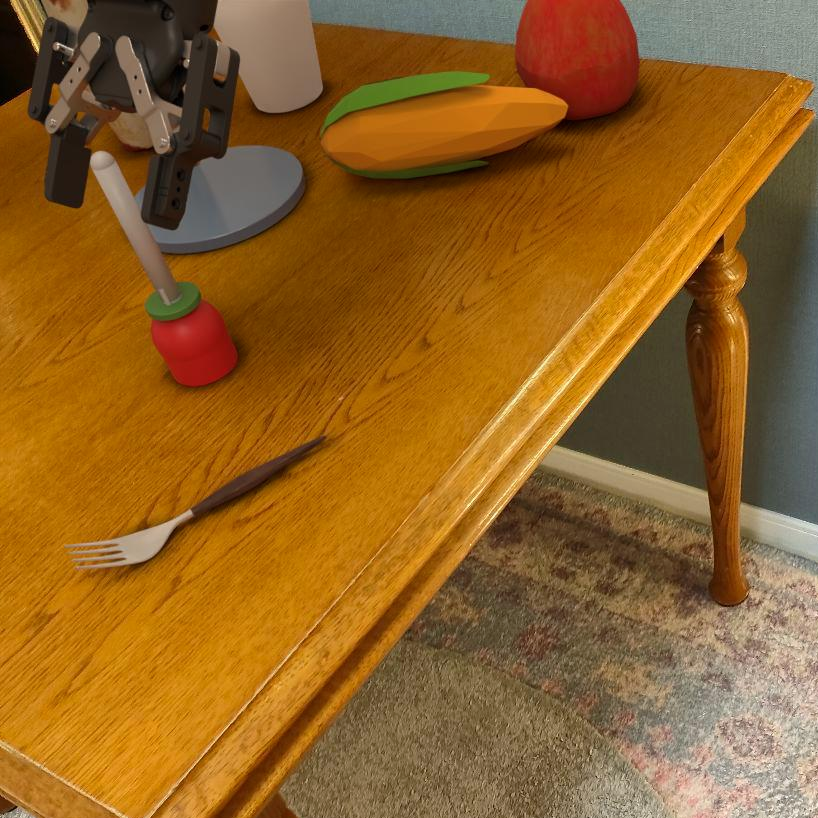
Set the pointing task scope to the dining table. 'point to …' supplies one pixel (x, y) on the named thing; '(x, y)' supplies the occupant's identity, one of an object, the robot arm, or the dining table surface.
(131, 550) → the fork
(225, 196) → the plate
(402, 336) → the dining table surface
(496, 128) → the corn
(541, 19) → the apple
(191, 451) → the dining table surface
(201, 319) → the strawberry fork
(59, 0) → the food model
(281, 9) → the cup
